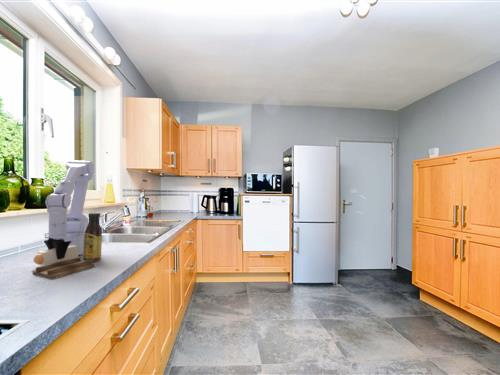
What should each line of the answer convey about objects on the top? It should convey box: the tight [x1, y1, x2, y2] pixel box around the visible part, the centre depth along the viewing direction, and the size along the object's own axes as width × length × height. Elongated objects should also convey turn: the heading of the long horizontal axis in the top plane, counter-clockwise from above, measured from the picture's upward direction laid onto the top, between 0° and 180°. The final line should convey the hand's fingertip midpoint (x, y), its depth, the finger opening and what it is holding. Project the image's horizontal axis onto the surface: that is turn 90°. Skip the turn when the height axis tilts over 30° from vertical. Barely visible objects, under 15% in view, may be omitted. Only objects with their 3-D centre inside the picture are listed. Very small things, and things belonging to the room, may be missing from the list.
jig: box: [32, 256, 96, 280], centre depth 87 cm, size 14×12×2 cm
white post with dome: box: [33, 245, 79, 266], centre depth 94 cm, size 14×4×5 cm, turn 156°
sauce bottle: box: [82, 212, 103, 263], centre depth 99 cm, size 6×6×20 cm
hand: (57, 257), depth 94 cm, fingers closed on white post with dome, 4 cm apart
